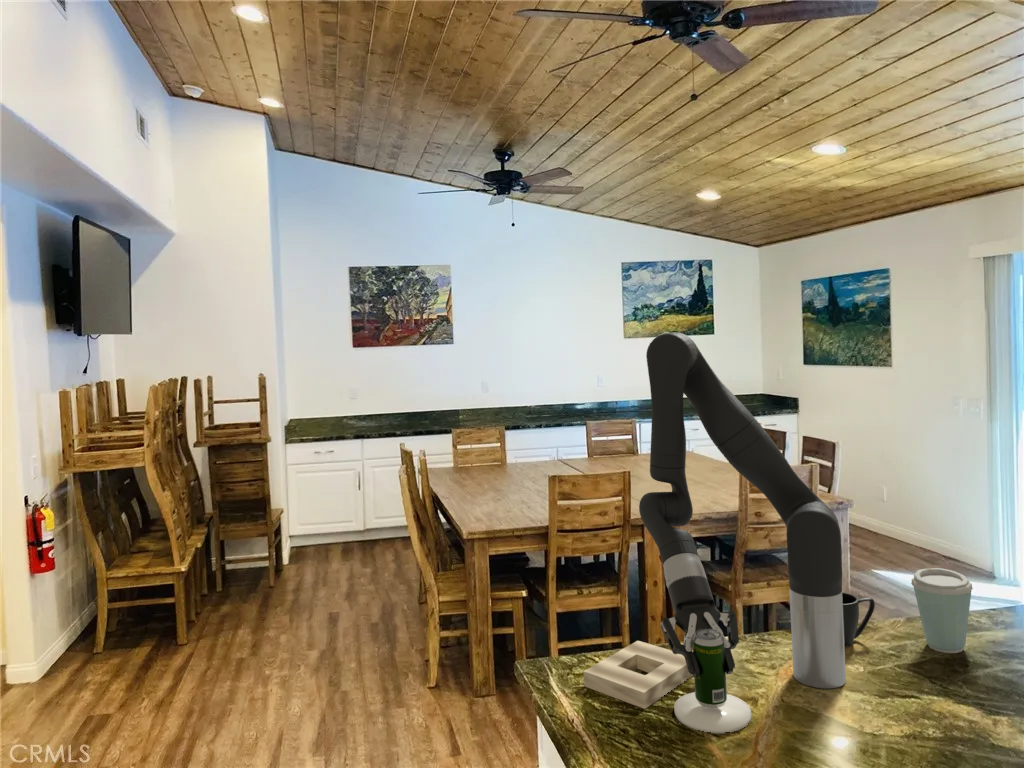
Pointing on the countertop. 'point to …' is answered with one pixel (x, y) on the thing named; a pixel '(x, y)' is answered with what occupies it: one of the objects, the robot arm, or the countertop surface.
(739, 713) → the white round disc
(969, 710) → the countertop surface
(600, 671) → the beige rectangular frame
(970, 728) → the countertop surface
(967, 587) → the disposable coffee cup
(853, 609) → the mug
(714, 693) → the beer can
